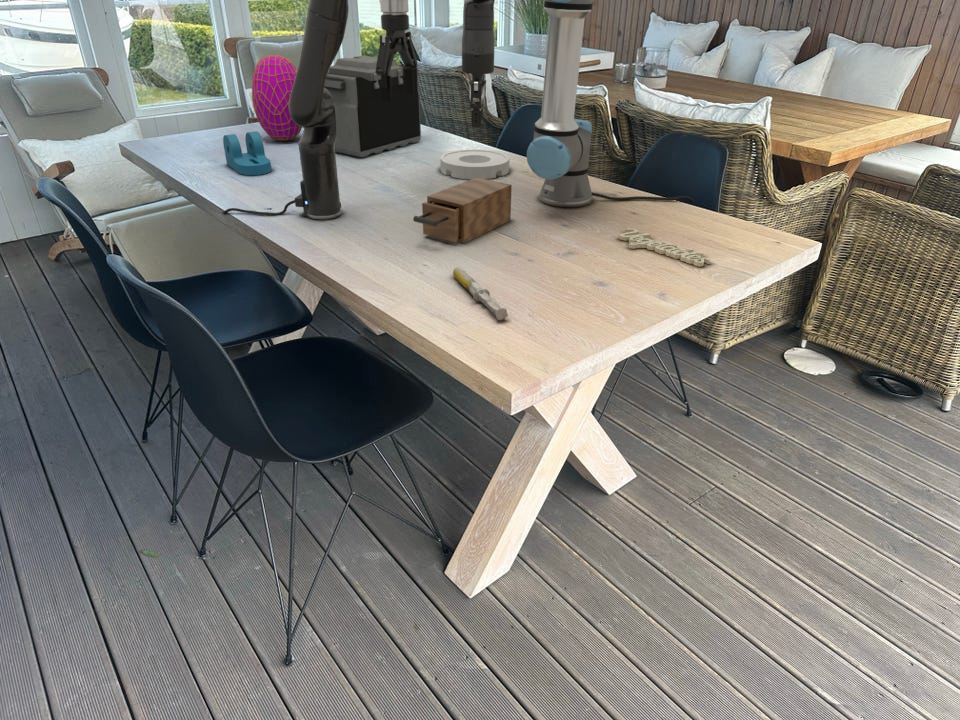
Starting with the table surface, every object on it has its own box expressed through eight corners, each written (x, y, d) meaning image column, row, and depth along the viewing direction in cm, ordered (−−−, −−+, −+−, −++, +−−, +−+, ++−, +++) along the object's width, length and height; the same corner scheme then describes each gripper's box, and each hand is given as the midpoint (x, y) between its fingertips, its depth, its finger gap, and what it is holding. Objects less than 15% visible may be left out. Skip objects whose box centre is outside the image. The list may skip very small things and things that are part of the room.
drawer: (440, 249, 166) (440, 217, 162) (408, 240, 171) (406, 209, 167) (500, 220, 184) (501, 191, 180) (469, 213, 189) (469, 184, 185)
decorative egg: (293, 132, 276) (283, 50, 261) (319, 140, 264) (310, 56, 249) (249, 139, 265) (236, 54, 250) (273, 148, 253) (261, 60, 238)
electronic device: (383, 133, 276) (378, 52, 261) (425, 141, 265) (422, 56, 250) (314, 150, 251) (304, 61, 235) (358, 160, 240) (350, 67, 224)
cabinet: (463, 243, 172) (463, 204, 167) (428, 234, 178) (426, 196, 172) (510, 220, 187) (511, 184, 182) (476, 212, 193) (476, 177, 188)
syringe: (449, 274, 155) (449, 263, 153) (465, 272, 156) (464, 260, 154) (490, 323, 135) (491, 310, 133) (508, 319, 136) (508, 307, 134)
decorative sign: (605, 235, 174) (629, 227, 180) (604, 239, 175) (629, 230, 181) (694, 266, 158) (718, 256, 163) (693, 270, 158) (717, 260, 164)
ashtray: (443, 160, 241) (442, 148, 239) (509, 161, 240) (509, 149, 238) (437, 178, 221) (437, 166, 219) (509, 180, 220) (509, 167, 218)
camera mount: (227, 164, 233) (221, 132, 227) (257, 160, 238) (252, 129, 233) (244, 176, 220) (239, 143, 215) (276, 172, 225) (271, 139, 220)
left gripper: (464, 46, 165) (463, 116, 173) (459, 53, 153) (459, 129, 161) (495, 47, 165) (493, 117, 173) (493, 54, 152) (491, 129, 161)
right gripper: (403, 10, 196) (407, 89, 207) (358, 16, 177) (365, 102, 187) (427, 11, 194) (429, 90, 205) (384, 17, 174) (389, 105, 185)
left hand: (477, 123), depth 167 cm, fingers open, 8 cm apart
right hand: (398, 96), depth 196 cm, fingers open, 13 cm apart
